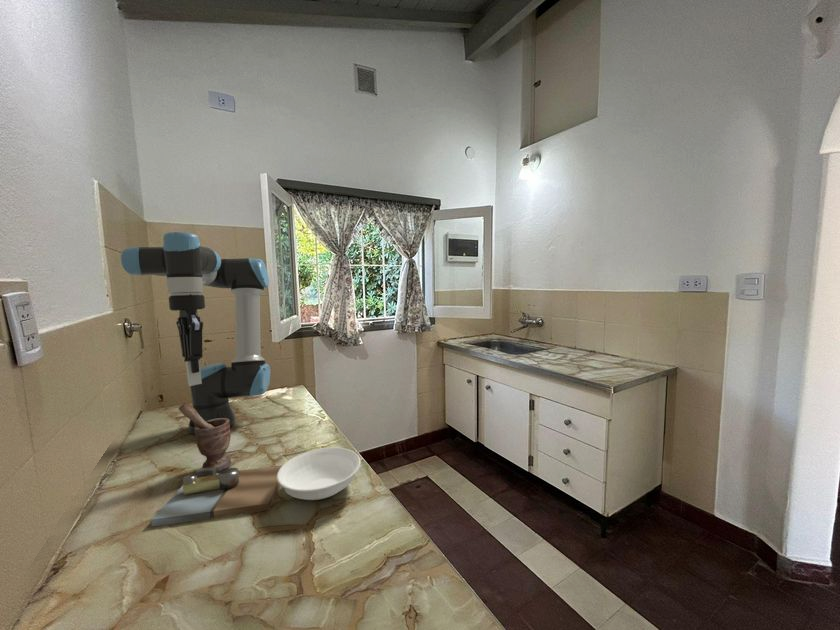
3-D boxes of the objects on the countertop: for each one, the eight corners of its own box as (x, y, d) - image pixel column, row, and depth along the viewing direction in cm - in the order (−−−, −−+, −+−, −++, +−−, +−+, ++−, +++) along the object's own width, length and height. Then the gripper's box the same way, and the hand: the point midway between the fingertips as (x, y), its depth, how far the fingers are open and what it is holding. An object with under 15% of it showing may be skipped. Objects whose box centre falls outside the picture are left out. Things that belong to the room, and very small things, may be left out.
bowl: (317, 530, 69) (315, 501, 68) (260, 500, 80) (259, 475, 79) (378, 481, 86) (376, 457, 85) (324, 462, 96) (323, 441, 96)
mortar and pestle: (186, 483, 88) (178, 410, 86) (184, 470, 95) (177, 402, 93) (235, 468, 95) (229, 400, 93) (230, 456, 102) (225, 393, 100)
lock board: (191, 482, 89) (190, 465, 88) (286, 470, 93) (284, 454, 92) (151, 526, 72) (149, 506, 71) (269, 510, 76) (267, 490, 76)
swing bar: (241, 477, 86) (239, 464, 86) (236, 487, 82) (235, 473, 82) (188, 486, 83) (187, 473, 83) (181, 497, 79) (179, 482, 78)
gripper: (212, 293, 84) (220, 384, 86) (195, 294, 92) (202, 377, 94) (176, 294, 78) (185, 392, 80) (161, 295, 86) (170, 384, 88)
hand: (194, 384), depth 87 cm, fingers closed
